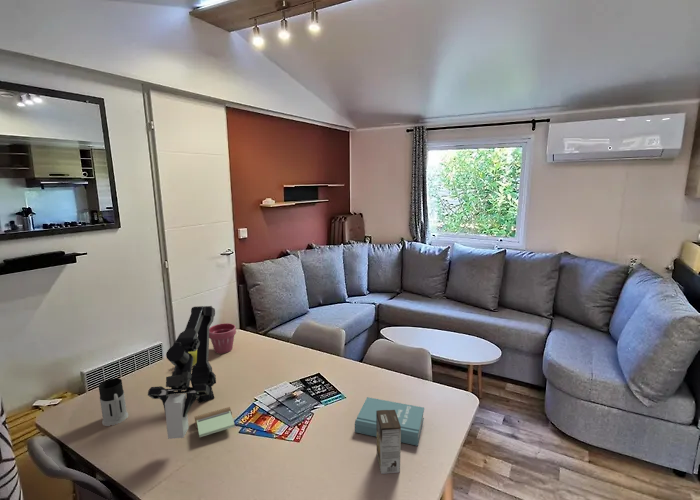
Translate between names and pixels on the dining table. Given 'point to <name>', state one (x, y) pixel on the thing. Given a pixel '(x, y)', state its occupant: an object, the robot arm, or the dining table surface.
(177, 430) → the block
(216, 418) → the trapdoor
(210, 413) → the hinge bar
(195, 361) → the apple
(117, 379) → the glass holder
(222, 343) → the plant pot
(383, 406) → the book
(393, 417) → the coffee box
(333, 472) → the dining table surface
